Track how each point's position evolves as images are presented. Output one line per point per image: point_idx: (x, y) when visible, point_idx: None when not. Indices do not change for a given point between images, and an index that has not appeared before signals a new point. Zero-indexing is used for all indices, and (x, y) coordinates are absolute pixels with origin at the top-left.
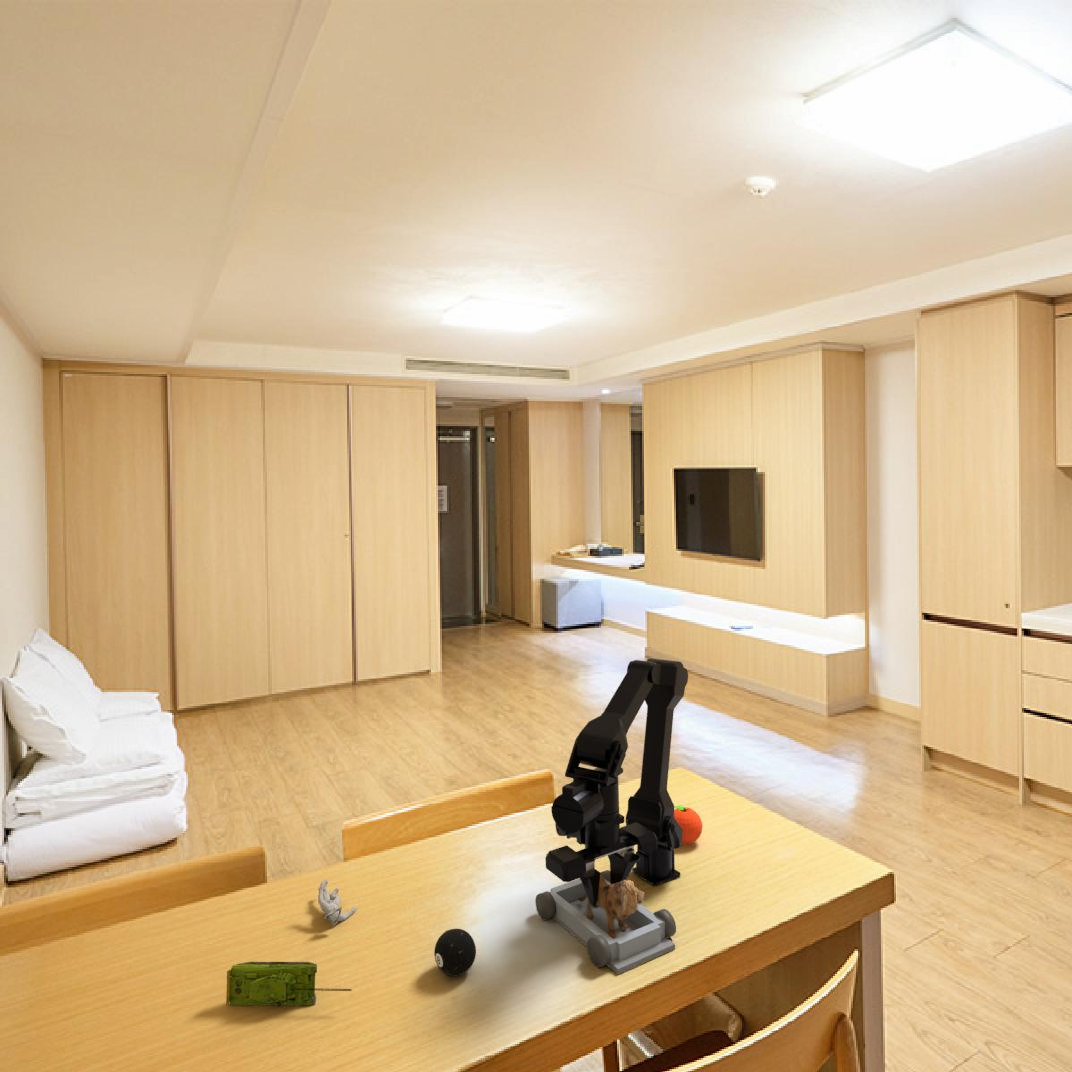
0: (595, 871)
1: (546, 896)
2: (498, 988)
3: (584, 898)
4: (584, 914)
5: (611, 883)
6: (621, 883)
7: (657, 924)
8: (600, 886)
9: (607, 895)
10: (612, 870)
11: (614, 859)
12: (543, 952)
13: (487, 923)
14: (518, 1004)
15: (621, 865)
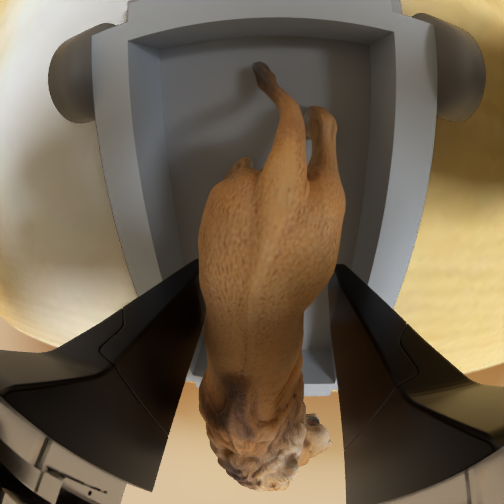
0: (128, 483)
1: (62, 90)
2: (15, 266)
3: (267, 95)
4: (231, 149)
5: (343, 307)
6: (241, 481)
7: (331, 390)
8: (223, 355)
9: (202, 412)
10: (371, 373)
11: (386, 463)
12: (71, 228)
13: (12, 64)
14: (39, 307)
15: (355, 474)
